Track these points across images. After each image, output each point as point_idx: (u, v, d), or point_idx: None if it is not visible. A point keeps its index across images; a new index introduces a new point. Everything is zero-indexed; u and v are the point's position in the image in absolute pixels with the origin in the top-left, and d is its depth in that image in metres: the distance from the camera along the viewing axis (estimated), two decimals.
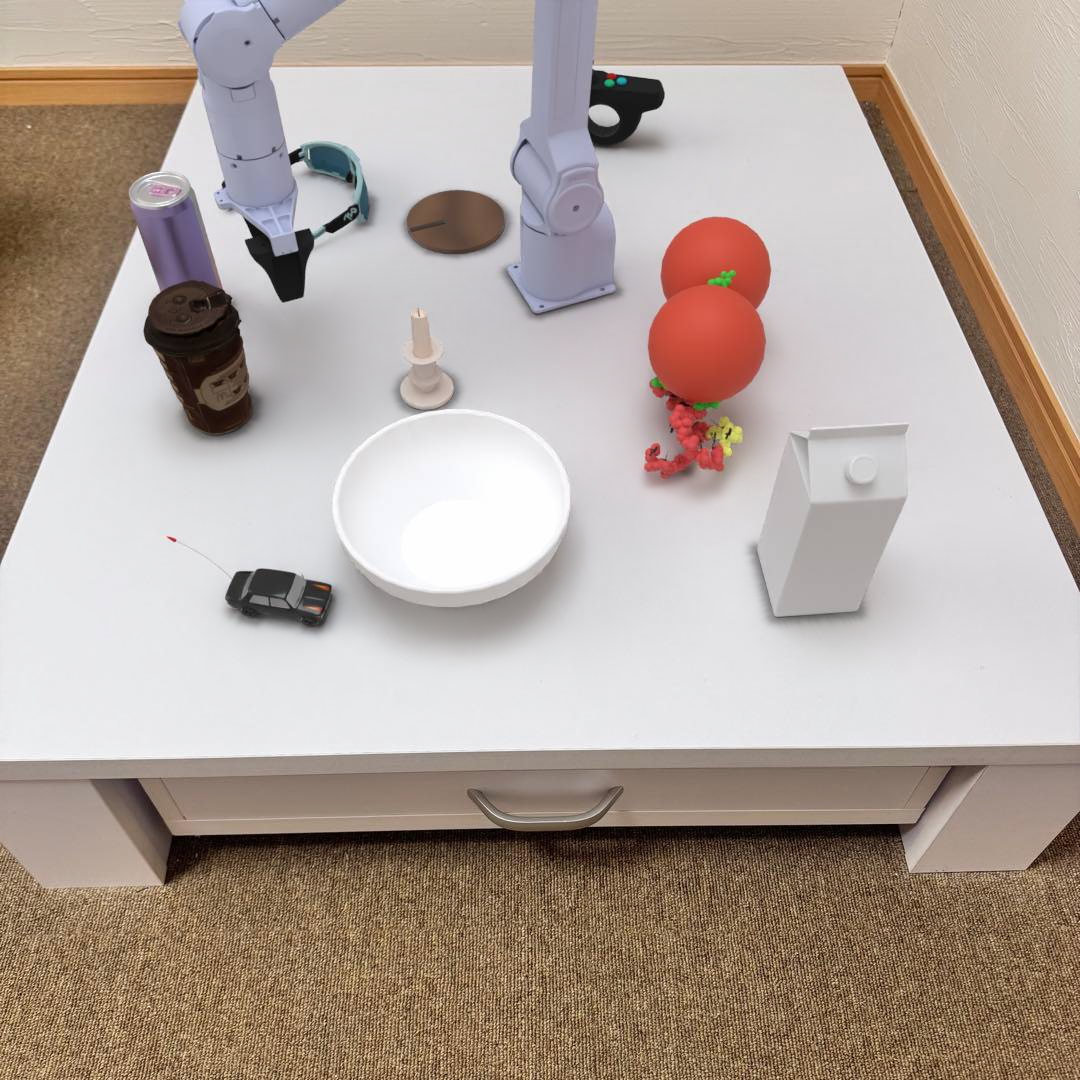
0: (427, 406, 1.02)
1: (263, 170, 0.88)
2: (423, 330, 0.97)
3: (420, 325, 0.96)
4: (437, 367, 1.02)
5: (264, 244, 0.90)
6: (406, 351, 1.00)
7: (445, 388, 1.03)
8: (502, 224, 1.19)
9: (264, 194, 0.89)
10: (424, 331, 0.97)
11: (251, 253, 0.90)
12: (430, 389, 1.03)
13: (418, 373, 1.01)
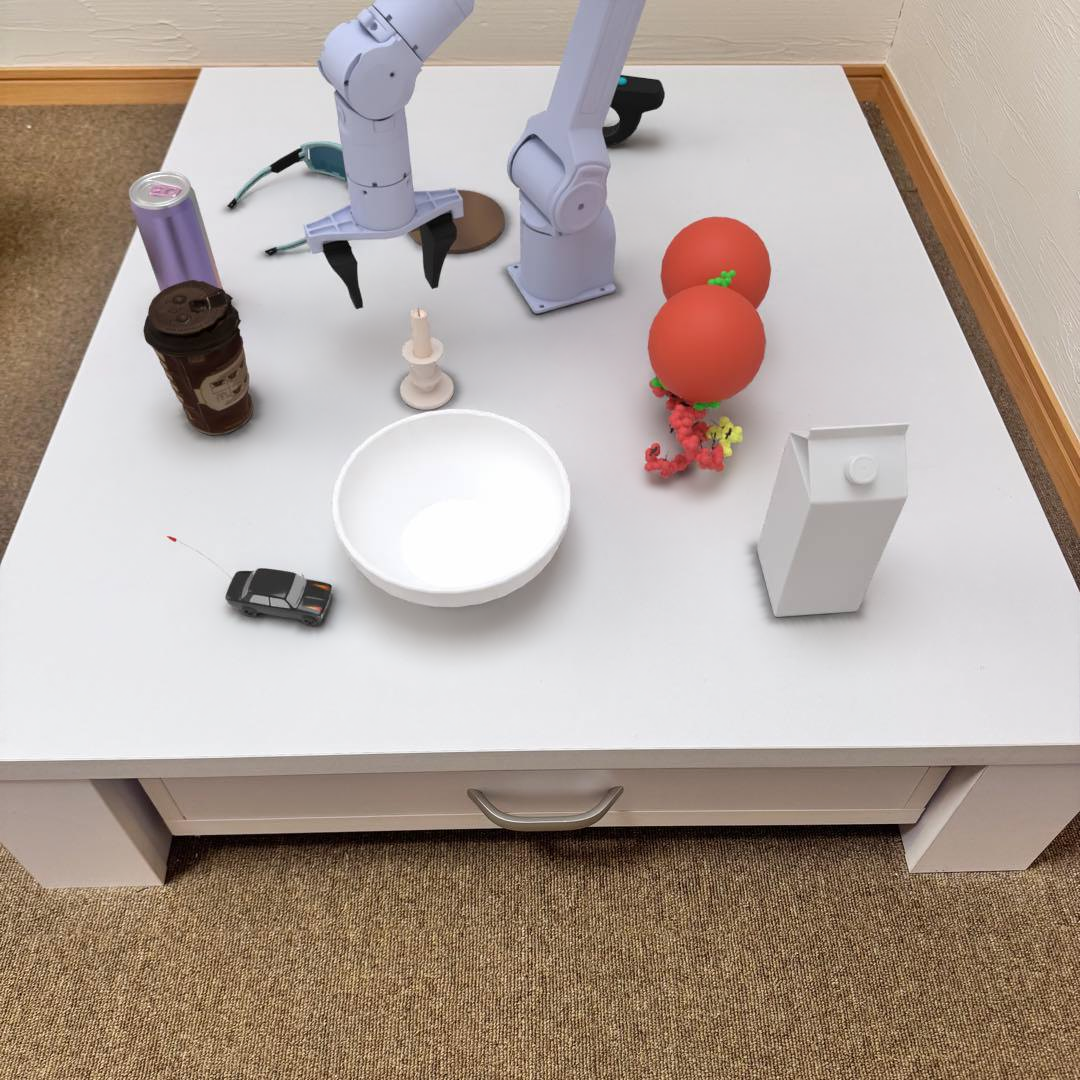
0: (427, 406, 1.02)
1: (349, 187, 0.93)
2: (423, 330, 0.97)
3: (420, 325, 0.96)
4: (437, 367, 1.02)
5: None
6: (406, 351, 1.00)
7: (445, 388, 1.03)
8: (502, 224, 1.19)
9: (351, 207, 0.95)
10: (424, 331, 0.97)
11: None
12: (430, 389, 1.03)
13: (418, 373, 1.01)
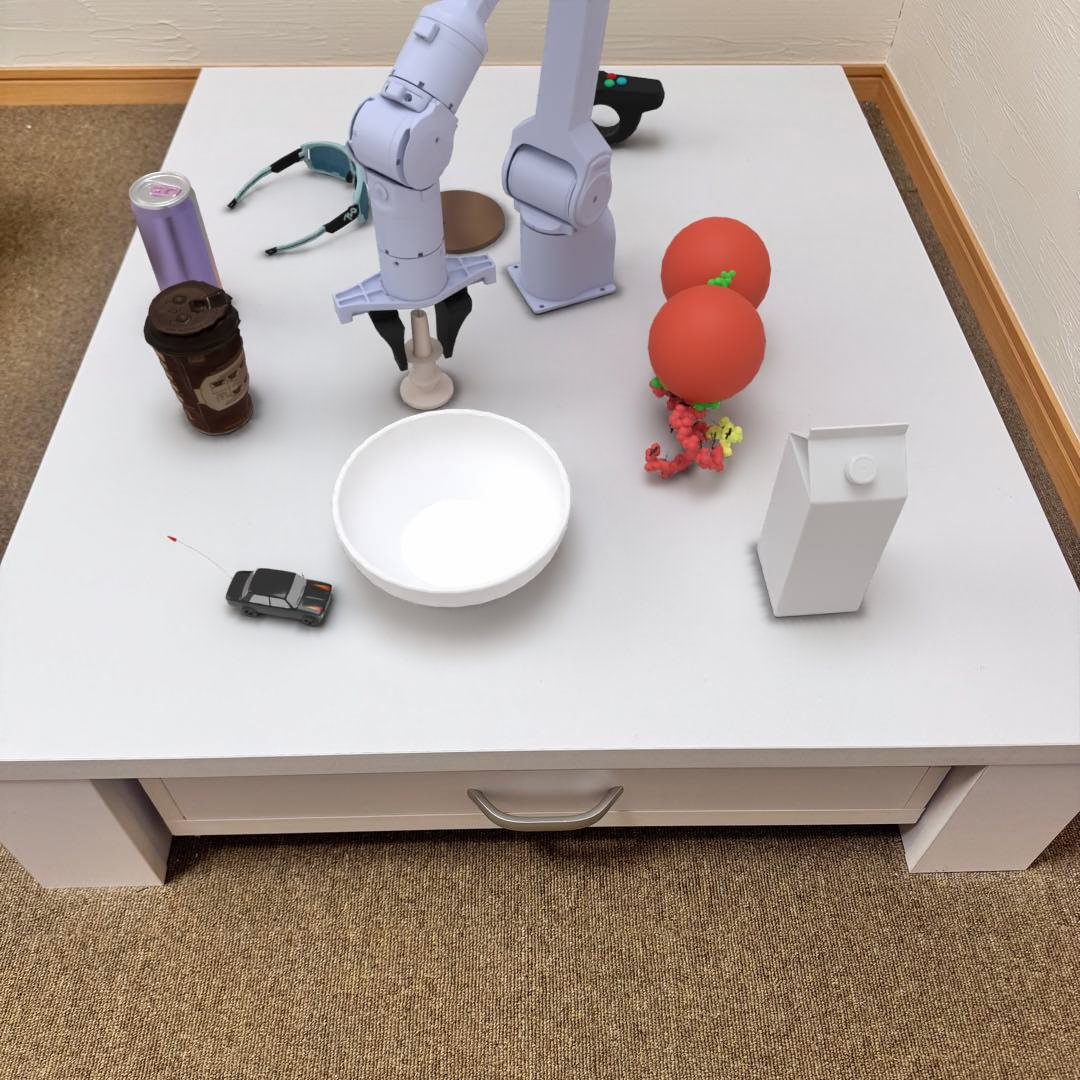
0: (427, 406, 1.02)
1: (380, 258, 0.90)
2: (423, 330, 0.97)
3: (420, 325, 0.96)
4: (437, 367, 1.02)
5: None
6: (406, 351, 1.00)
7: (445, 388, 1.03)
8: (502, 224, 1.19)
9: (382, 276, 0.92)
10: (424, 331, 0.97)
11: None
12: (430, 389, 1.03)
13: (418, 373, 1.01)
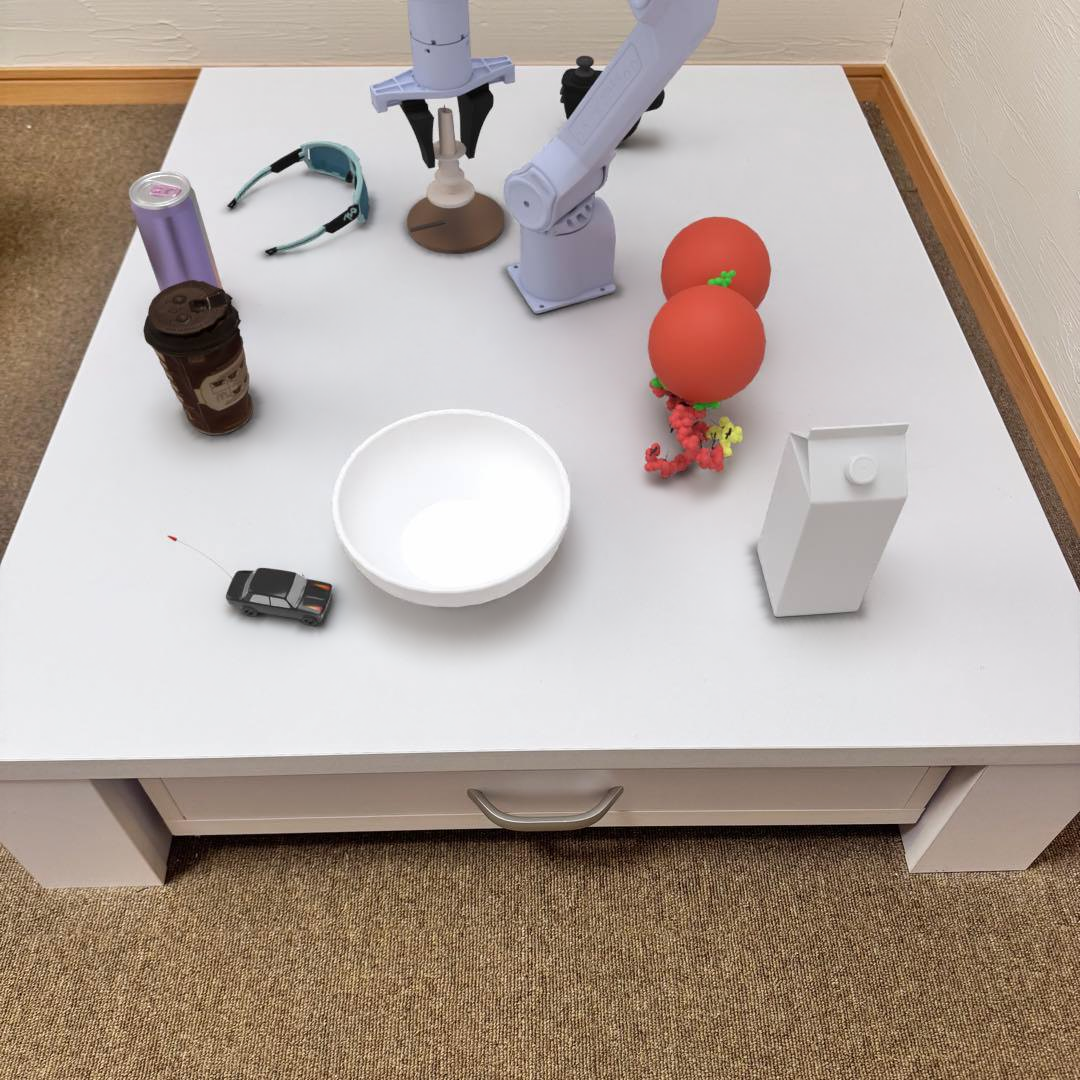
0: (451, 204, 1.13)
1: (413, 48, 1.01)
2: (449, 127, 1.08)
3: (446, 121, 1.08)
4: (460, 169, 1.13)
5: None
6: None
7: (467, 190, 1.15)
8: (502, 224, 1.19)
9: (414, 68, 1.03)
10: (449, 128, 1.08)
11: None
12: (454, 190, 1.14)
13: (443, 172, 1.12)
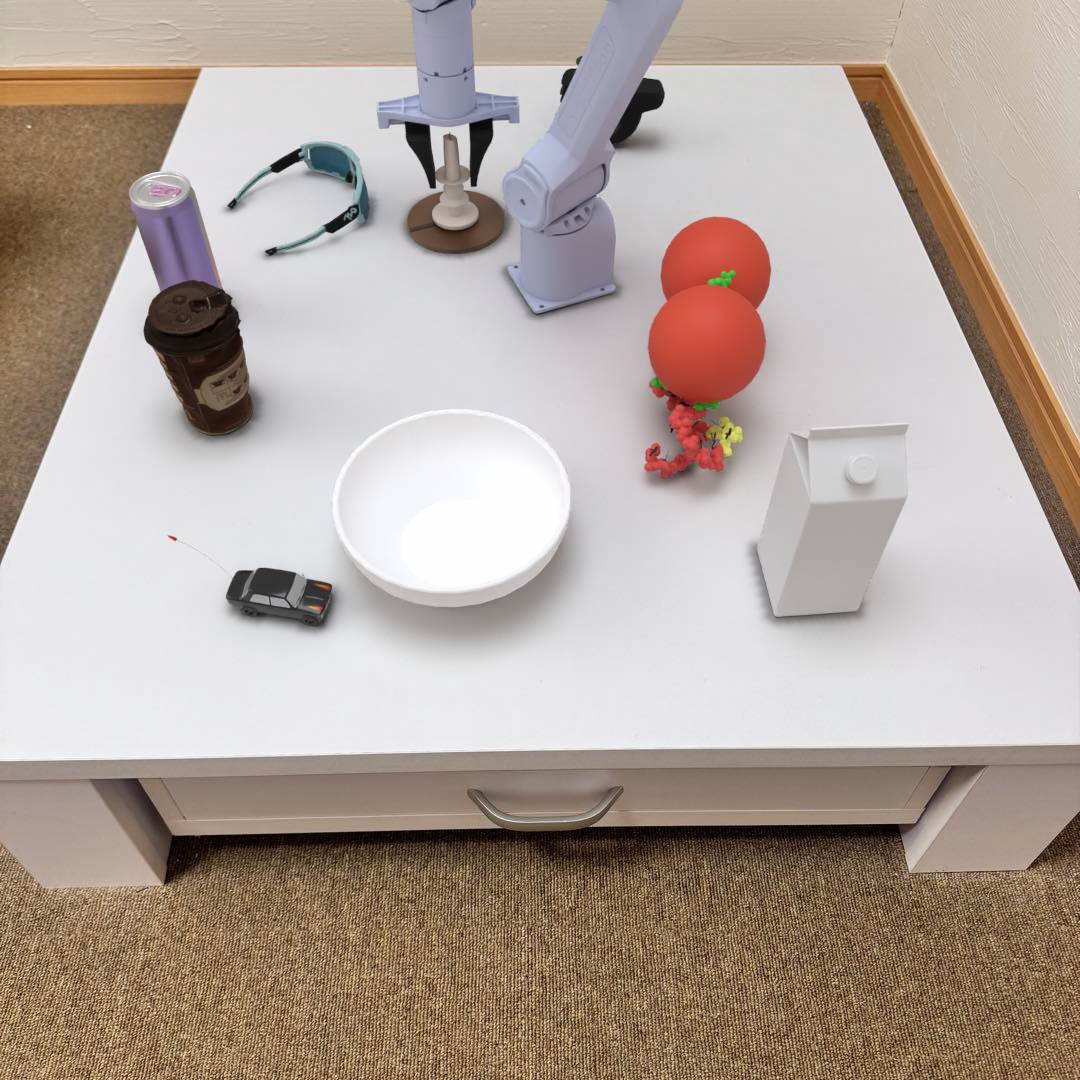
0: (448, 226, 1.18)
1: (417, 75, 1.06)
2: (451, 153, 1.12)
3: (449, 148, 1.12)
4: (465, 195, 1.18)
5: None
6: (439, 172, 1.16)
7: (469, 216, 1.19)
8: (502, 224, 1.19)
9: None
10: (452, 154, 1.13)
11: None
12: (456, 213, 1.18)
13: (446, 195, 1.17)
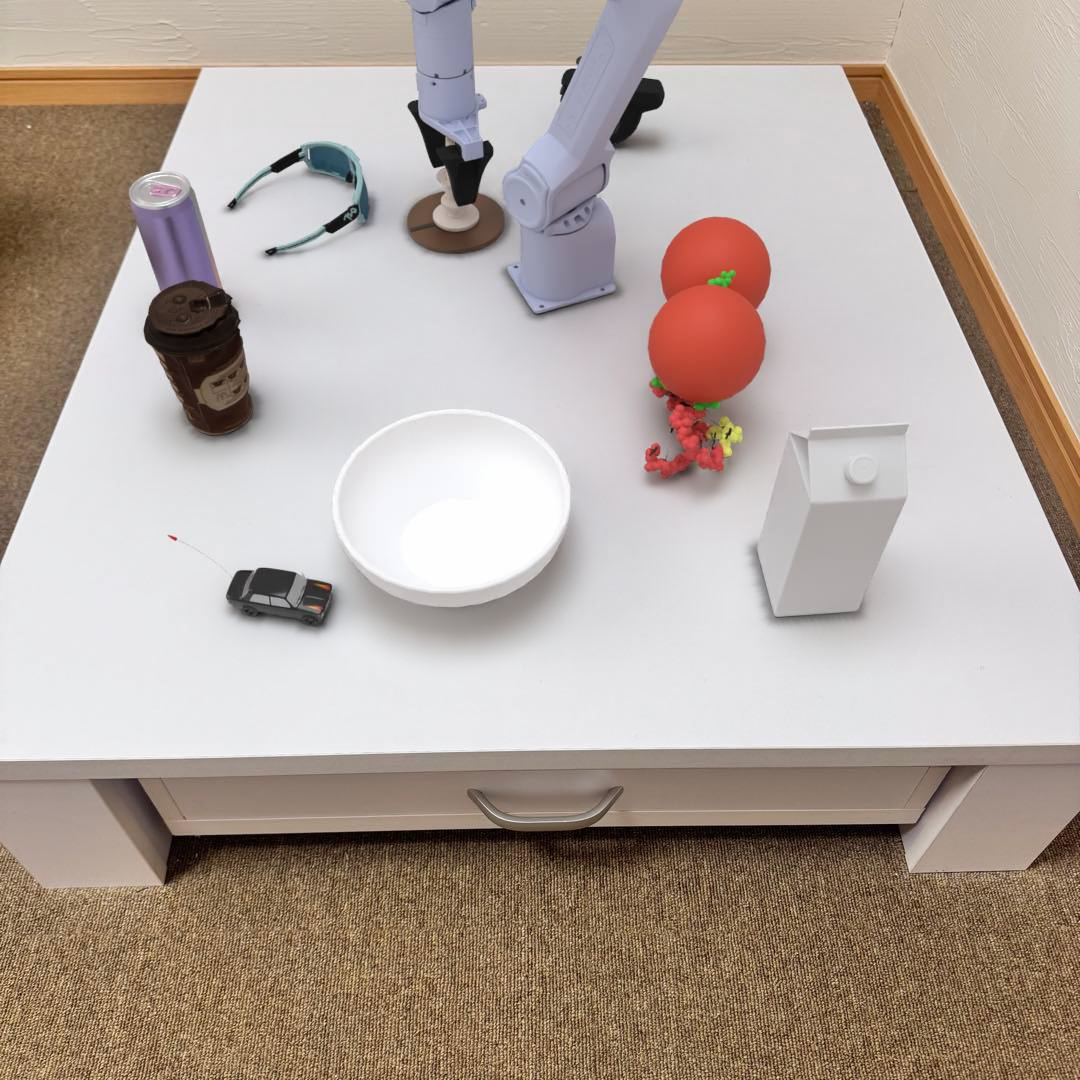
0: (433, 215, 1.19)
1: None
2: None
3: None
4: None
5: None
6: None
7: (453, 223, 1.18)
8: (502, 224, 1.19)
9: None
10: None
11: None
12: (448, 212, 1.19)
13: None
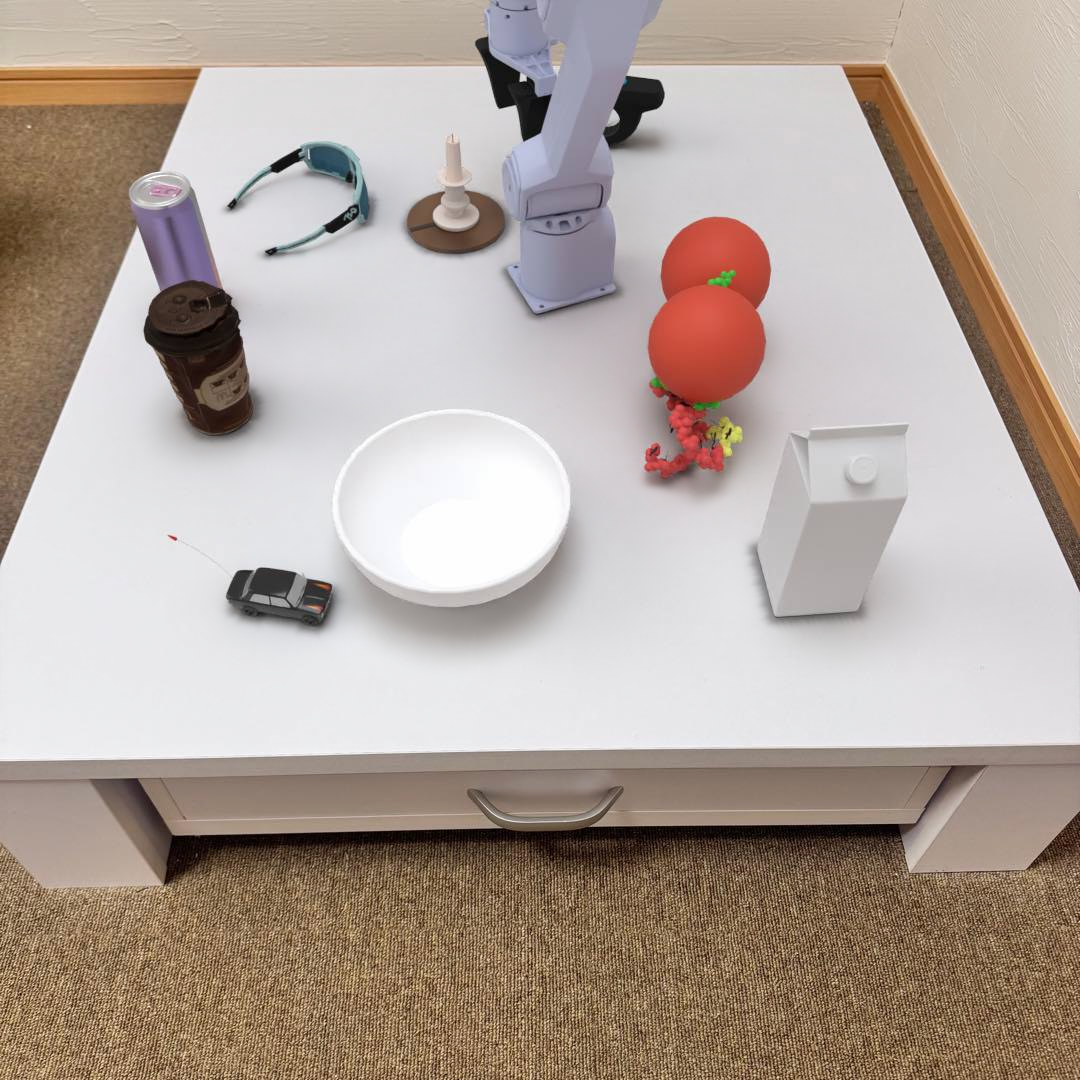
0: (433, 215, 1.19)
1: None
2: (446, 153, 1.13)
3: None
4: (460, 204, 1.17)
5: None
6: None
7: (453, 223, 1.18)
8: (502, 224, 1.19)
9: None
10: (446, 154, 1.13)
11: None
12: (448, 212, 1.19)
13: None
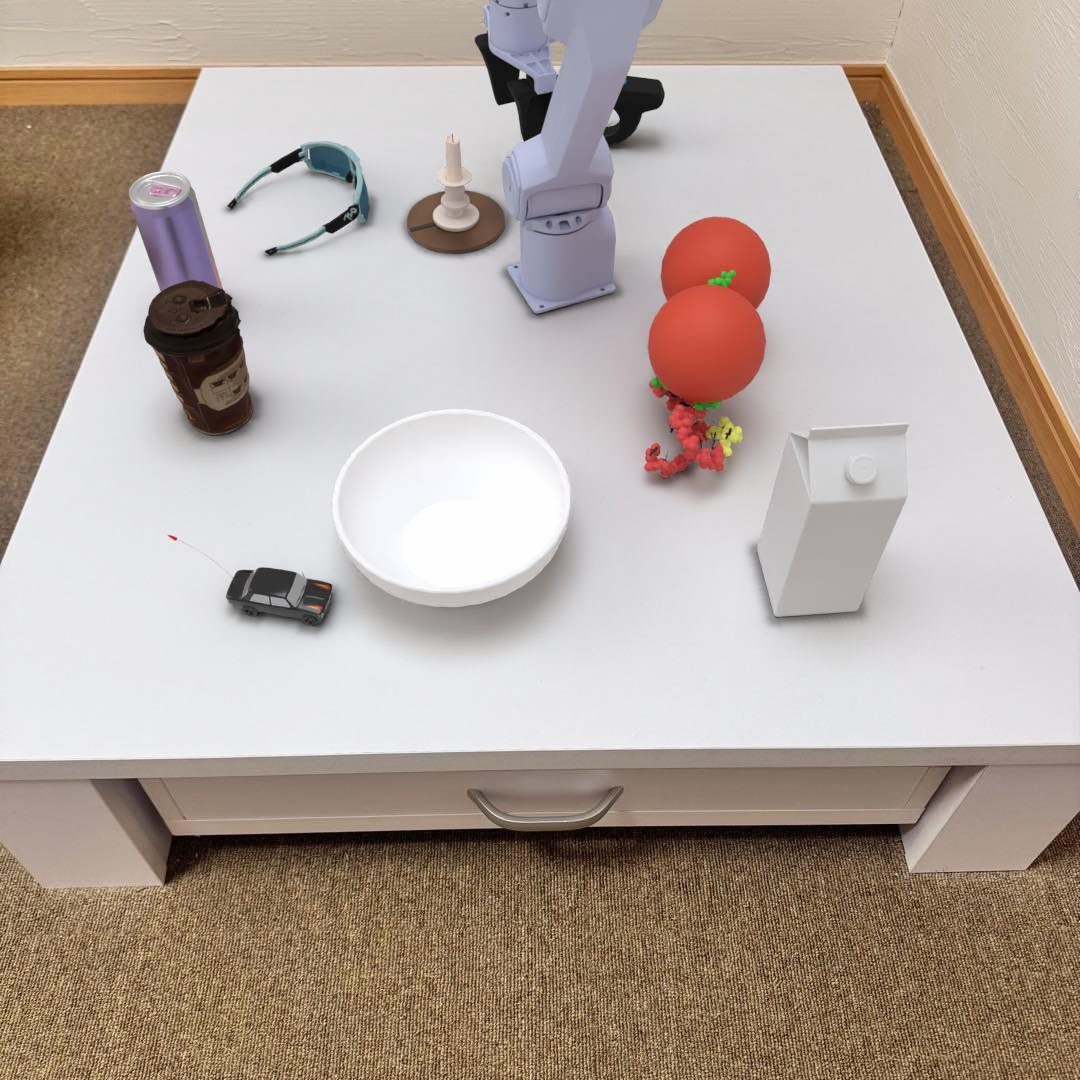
0: (433, 215, 1.19)
1: None
2: (446, 153, 1.13)
3: None
4: (460, 204, 1.17)
5: None
6: None
7: (453, 223, 1.18)
8: (502, 224, 1.19)
9: None
10: (446, 154, 1.13)
11: None
12: (448, 212, 1.19)
13: None
